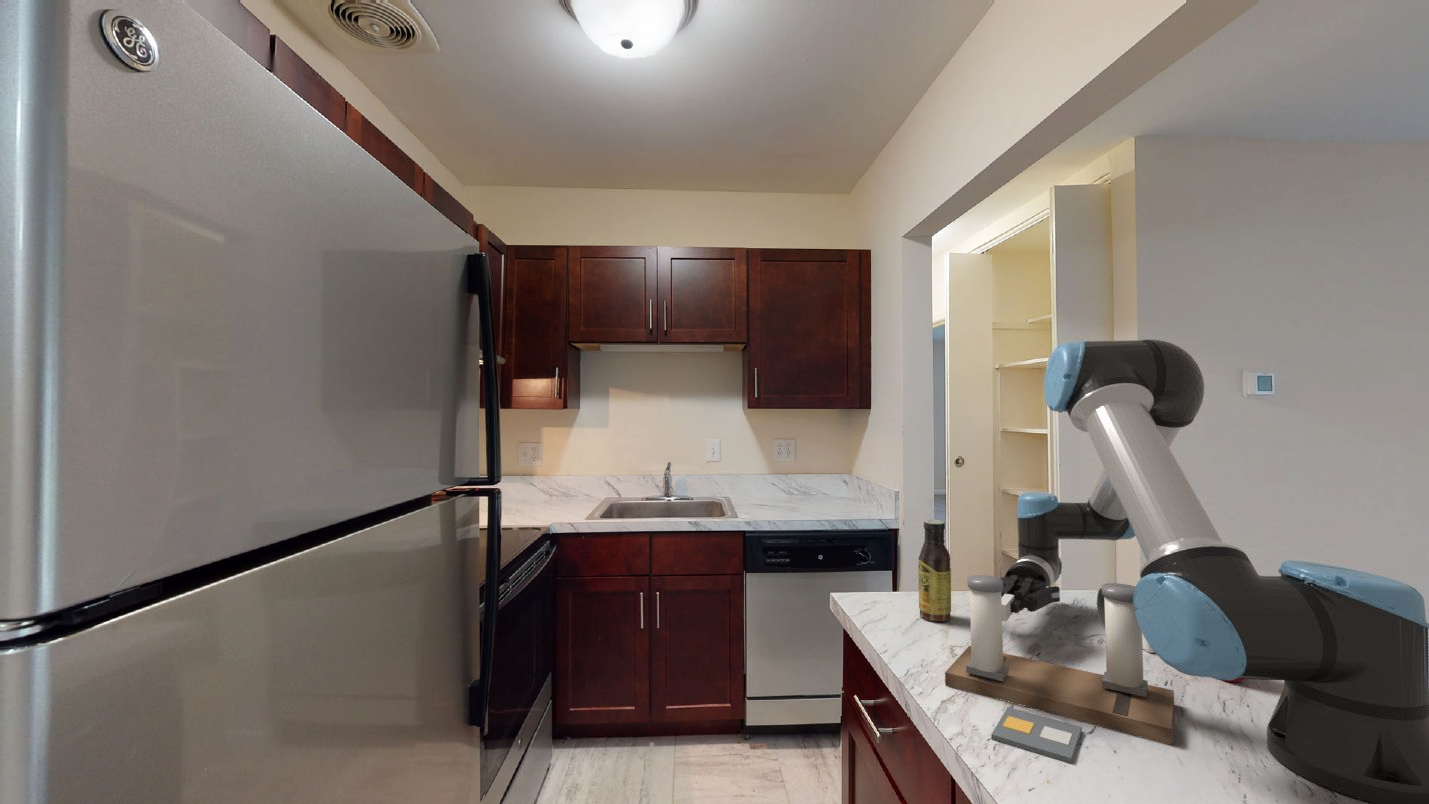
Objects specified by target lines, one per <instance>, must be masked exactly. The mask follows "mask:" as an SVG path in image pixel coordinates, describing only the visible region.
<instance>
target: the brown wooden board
mask: <svg viewBox="0 0 1429 804" xmlns="http://www.w3.org/2000/svg"><path fill="white" fill-rule="evenodd" d="M971 660H972V658H971V645H968V646H967V647H966V649H965V650H963V652H962V653H961V654H960V655H959V656H958V658H956V659H955V661H954V662H953V663H952V664H951V665H950V666H949V668H947V669H946V670H945V672H944V682H945V686H947V687H949V688H954V689H958V690H961V691H965V692H969V693H972V694H978V695H981V696H985V697H987V698H992V699H996V698H998V699H997V700H999V699H1002V700H1001V701H1003V700H1005V701H1004V702H1007V701H1010V702H1009V703H1011V702H1013V703H1012V704H1015V703H1016V704H1015V705H1018V704H1021V705H1020V706H1022V705H1025V706H1024V707H1026V706H1027V708H1030V707H1032V708H1031V709H1034V708H1035V709H1034V710H1037V709H1039V710H1038V711H1041V710H1043V711H1042V712H1046V713H1049V714H1052V713H1053V715H1056V716H1061V717H1065V718H1068V719H1071V720H1076V721H1080V722H1083V723H1086V724H1092V725H1095V726H1098V727H1102V728H1106V729H1109V730H1110V729H1111V730H1114V731H1117V732H1122V733H1124V734H1128V735H1133V736H1136V737H1141V738H1143V739H1147V740H1151V741H1157V742H1160V743H1163V744H1166V745H1170V746H1172V745H1173V737H1174V736H1173V735H1174V734H1173V731H1174V718H1175V717H1174V716H1175V715H1174V714H1175V691H1174V690H1173V689H1169V688H1165V687H1160V686H1156V685H1151V684H1148V691H1147V697H1143V696H1138V695H1134V694H1129V693H1125V692H1121V691H1116V690H1112V689H1108V688H1103V687H1102V679H1103V675H1104V674H1102V673H1101V674H1100V673H1096V672H1093V671H1088V670H1083V669H1078V668H1072V667H1068V666H1064V665H1059V664H1054V663H1050V662H1046V661H1042V660H1037V659H1033V658H1032V659H1031V658H1028V657H1022V656H1019V655H1014V654H1010V653H1004V652H1003V665H1005V666H1009V673H1008V675H1007V676H1006V678H1005V679H1004V681H999V680H995V679H991V678H987V677H983V676H979V675H975V674H971V673H966V665H967V664H968V663H969V662H970V661H971Z"/></svg>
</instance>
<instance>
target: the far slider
mask: <svg viewBox="0 0 1429 804" xmlns="http://www.w3.org/2000/svg"><path fill="white" fill-rule="evenodd" d="M1000 578H1001V577H997V576H993V575H987V574H973V575H969V576H967V588H969V604H970V605H969V609H970V610H969V611H970V613H969V614H970V646H971V658H972V660H971V661H970V662H969V663H968V664H967V665H966V673H971V674H975V675H979V676H983V677H987V678H991V679H995V680H999V681H1004V679H1005V678H1006V676H1007V675H1008V673H1009V666H1005V665H1003V653H1004V648H1003V642H1004V641H1003V621H1002V600H1001V591H1003V580H1002V579H1000Z"/></svg>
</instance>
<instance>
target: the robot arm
mask: <svg viewBox="0 0 1429 804" xmlns="http://www.w3.org/2000/svg"><path fill="white" fill-rule="evenodd" d="M1047 361H1048V362H1047V365H1046V368H1045V374H1044V381H1043V382H1044V383H1043V384H1044V385H1043V386H1044V387H1043V390H1044V399H1045V402H1046V406H1047V407H1048V408H1049V410H1050V411H1052V412H1057V413H1059V414H1062V413H1063V412H1066V413H1067V414H1068V416H1069V418H1070V419H1069V420H1070V421H1071V423H1072V425H1073V426H1074V427H1075V428H1076V429H1078V430H1079V431H1082V432H1084V433H1088V435H1089V438H1090V440H1091V442H1092V444H1093V447H1094V449H1095V450H1096V452H1097V456H1098V457H1099V460H1100V462H1101V463H1102V465H1103V469H1102V471H1101V474H1100V476H1099V478H1098V480H1097V482H1096V485H1095V486H1094V488H1093V490H1092V492H1091V494H1090V497H1089V498H1088V500H1087V502H1059V500H1058V497H1057V495H1055V494H1053V493H1048V492H1036V491H1035V492H1033V491H1032V492H1024V493H1023V492H1022V493H1021V494H1020V495H1019V496H1018V498H1017V506H1016V507H1017V510H1016V511H1017V512H1016V517H1017V519H1016V520H1017V538H1018V545H1017V551H1018V554H1017V555H1018V557H1017V559H1018V560H1017V561H1016V562H1015V563H1013V564H1012V565H1011V566H1010V568H1008V569H1007V570H1006V573H1005V574H1004V576H1003V577H999V578H1000V579H1002V580H1003V591H1001V600H1002V622H1008V620H1009V618H1010V617H1011V616H1012V615H1013V614H1018V613H1020V612H1021V611H1023V610H1024V609H1026V610H1027V611H1028V612H1030V613H1032V612H1037V611H1038V610H1040V609H1042V608H1044V607H1046V606H1048V605H1050V604H1052V603H1053V604H1054V603H1058V602H1061V598H1060V597H1061V595H1060V594H1061V593H1060V587H1059V586H1056V585H1054V584H1055V582H1057V581H1058V579H1059V578H1060V576H1061V574H1062V568H1063V564H1062V559H1061V558H1060V555H1059V553H1060V551H1059V547H1060V545H1059V542H1060V540H1091V541H1092V540H1093V541H1095V540H1097V541H1100V540H1101V541H1118V540H1131V539H1133V538H1135V537H1136V540H1137V542H1138V545H1139V546H1140V548H1141V550H1142V552H1143V555H1144V557H1145V560H1146V562H1145V563H1144V564H1143V566H1142V567H1141V569H1140V571H1139V577H1140V579H1139V580H1138V581H1137V583H1136V585H1134V586H1135V590H1134V595H1133V602H1134V605H1135V606H1136V608H1137V611H1135V614H1136V618H1137V621H1138V624H1139V627H1140V629H1141V631H1142V633H1143V635H1144V637H1145V639H1146V641H1147V642H1148V644H1149V645H1150V647H1151V648H1152V649H1153V651H1154V652H1155V653H1154V654H1156V655H1157V657H1158V658H1160V659H1161V660H1162V662H1164V663H1165V664H1166V665H1168V666H1169V667H1171V668H1173V669H1174V670H1176V671H1177V672H1178V673H1179V672H1180V673H1182V674H1183V675H1186V676H1191V677H1198V678H1199V677H1200V678H1201V677H1202V678H1211V679H1215V680H1217V681H1218V680H1219V681H1224V680H1235V679H1244V680H1259V681H1260V680H1264V681H1266V680H1267V681H1283V682H1284V686H1283V689H1282V692H1281V695H1280V697H1279V699H1278V700H1277V703H1276V705H1275V707H1274V711H1273V712H1272V715H1271V717H1270V719H1269V721H1268V723H1267V727H1266V746H1267V750H1268V751H1269V753H1270V755H1272V757H1274V758H1275V759H1276V760H1277V761H1278V762H1279V763H1280V764H1282V765H1283V766H1284V767H1286V768H1288V769H1289V770H1291V771H1292V772H1294V773H1296V774H1298V775H1299V776H1301V777H1303V778H1305V779H1307V780H1308V781H1311V782H1313V783H1316V784H1317V785H1320V786H1322V787H1325V788H1327V789H1329V790H1332V791H1335V792H1337V793H1340V794H1342V795H1343V794H1344V795H1346V796H1349V797H1351V798H1356V799H1358V800H1362V801H1365V802H1369V803H1372V804H1429V622H1427V615H1426V606H1425V600H1424V597H1423V595H1422V594H1421V593H1420V591H1418V590H1417V589H1416V588H1414V587H1413V586H1412V585H1409V584H1408V583H1404V582H1402V581H1401V580H1400V581H1399V580H1396V579H1393V578H1390V577H1385V576H1382V575H1378V574H1374V573H1369V572H1365V571H1360V570H1357V569H1351V568H1346V567H1340V566H1335V565H1330V564H1323V563H1319V562H1317V563H1316V562H1311V561H1304V560H1303V561H1300V560H1287V561H1283V562H1282V563H1281V565H1280V567H1279V568H1278V573H1279V574H1280V576H1279V575H1278V576H1275V575H1273V576H1271V575H1260V574H1259V573H1258V572H1257V570H1256V569H1255V567H1254V565H1253V563H1252V562H1251V561H1250V559H1249V557H1248V555H1247V554H1246V553H1245V552H1246V551H1244V550H1242V549H1241V548H1239V547H1237V546H1233V545H1230V544H1227V543H1225V542H1223V539H1222V538H1221V537H1220V535H1219V533H1218V531H1217V530H1216V528H1215V526H1214V524H1213V523H1212V521H1211V520H1210V518H1209V516H1208V514H1207V513H1206V511H1205V509H1204V507H1203V505H1202V504H1201V502H1200V499H1199V498H1198V496H1197V495H1196V493H1195V491H1194V489H1193V487H1192V486H1191V484H1190V482H1189V481H1188V479H1187V476H1186V475H1185V473H1184V471H1183V470H1182V468H1181V466H1180V464H1179V462H1178V460H1177V459H1176V458H1175V456H1174V454H1173V452H1172V450H1171V448H1170V447H1171V445H1172V443H1173V442H1174V439H1175V438H1176V437H1177V435H1178V433H1179V431H1180V430H1181V429H1183V428H1187V427H1188V426H1190V425H1192V423H1193V422H1194V421H1195V418H1196V416H1197V415H1198V414H1199V412H1200V409H1201V407H1202V404H1203V402H1204V401H1203V400H1204V396H1205V382H1204V378H1203V374H1202V371H1201V368H1200V367H1199V364H1198V363H1197V362H1196V360H1195V359H1194V357H1193V356H1192V355H1191V354H1190V353H1188V352H1187V351H1186V350H1184V348H1182V347H1180V346H1178V345H1176V344H1174V343H1172V342H1169V341H1165V340H1160V339H1141V340H1101V341H1100V340H1093V341H1091V340H1089V341H1084V340H1080V341H1076V342H1073V341H1072V342H1065V343H1064V342H1063V344H1060V345H1057V346H1056V347H1055V348H1054V350H1053V351H1051V354H1050V356H1049V358H1048V360H1047ZM1053 585H1054V586H1053Z"/></svg>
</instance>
